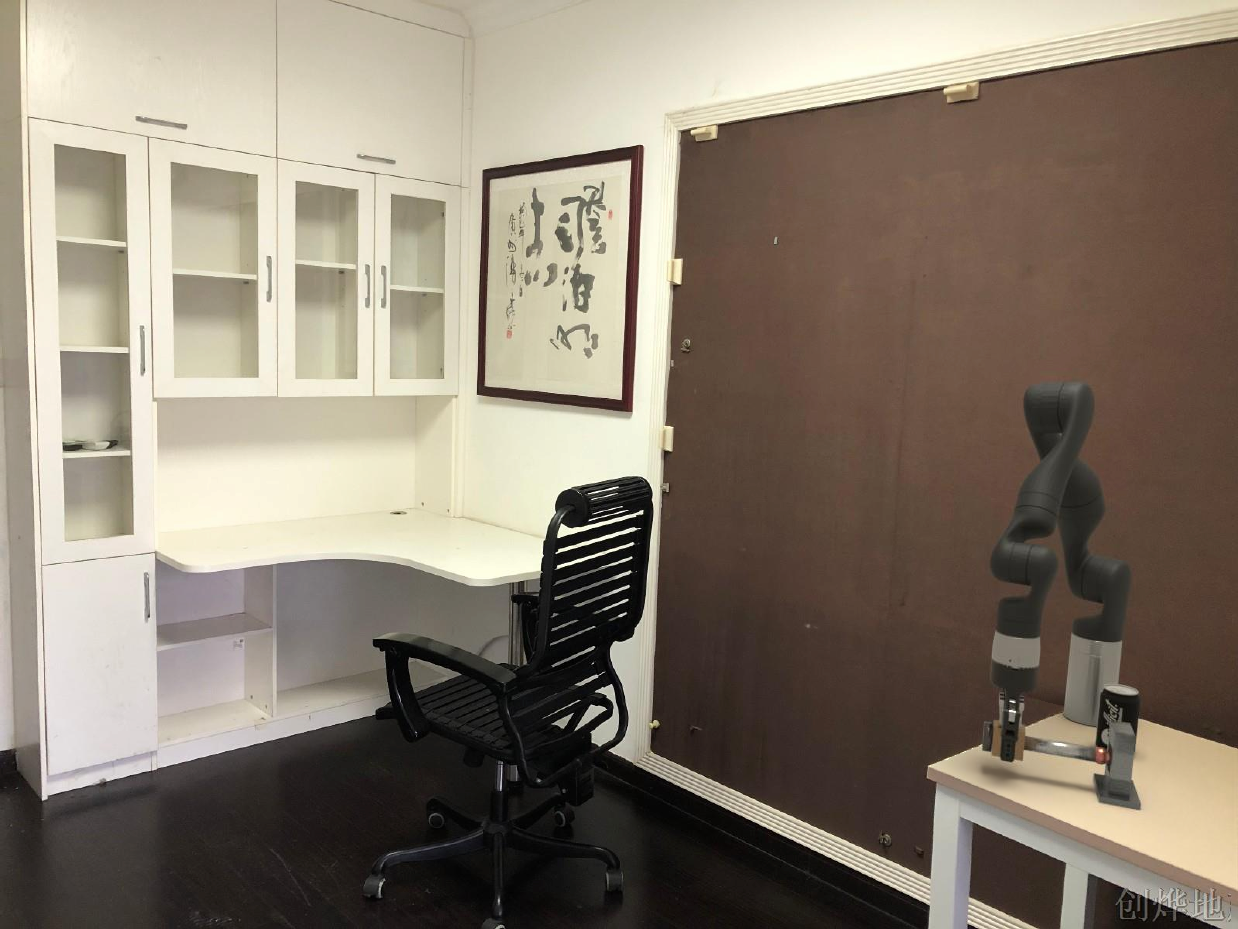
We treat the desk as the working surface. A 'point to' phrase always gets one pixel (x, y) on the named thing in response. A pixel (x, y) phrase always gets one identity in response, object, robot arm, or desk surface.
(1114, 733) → the square loop bracket
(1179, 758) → the desk surface
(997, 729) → the metal rod with knob
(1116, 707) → the beverage can
